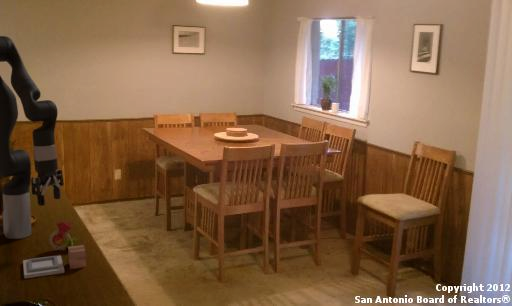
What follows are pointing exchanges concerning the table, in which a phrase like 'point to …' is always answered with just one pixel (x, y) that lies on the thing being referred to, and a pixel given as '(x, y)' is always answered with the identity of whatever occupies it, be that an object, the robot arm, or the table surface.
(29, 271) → the socket plate
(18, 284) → the table surface
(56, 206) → the table surface
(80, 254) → the terracotta block
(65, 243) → the bird rattle
